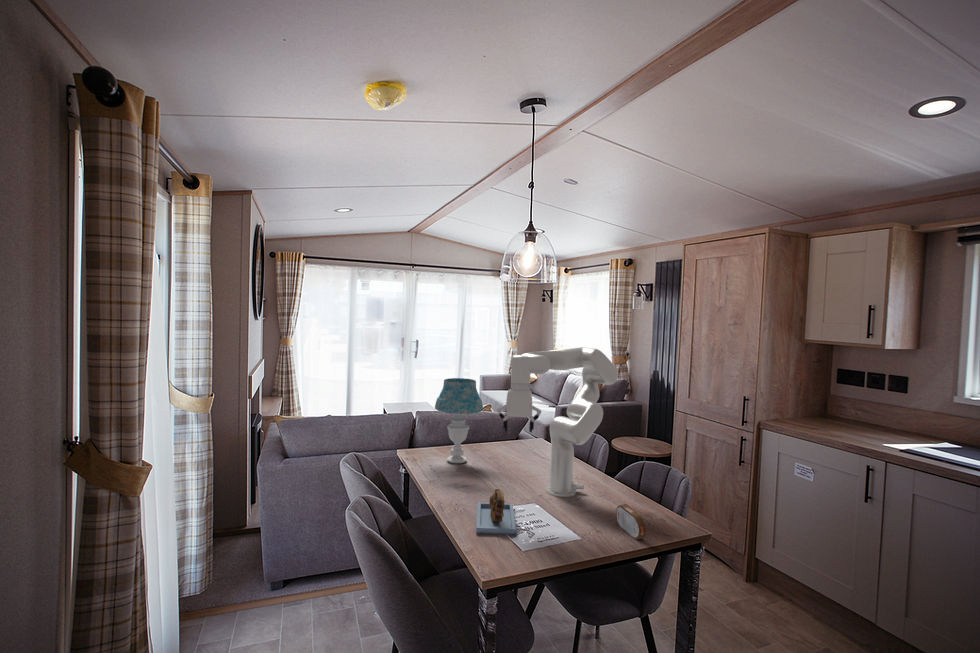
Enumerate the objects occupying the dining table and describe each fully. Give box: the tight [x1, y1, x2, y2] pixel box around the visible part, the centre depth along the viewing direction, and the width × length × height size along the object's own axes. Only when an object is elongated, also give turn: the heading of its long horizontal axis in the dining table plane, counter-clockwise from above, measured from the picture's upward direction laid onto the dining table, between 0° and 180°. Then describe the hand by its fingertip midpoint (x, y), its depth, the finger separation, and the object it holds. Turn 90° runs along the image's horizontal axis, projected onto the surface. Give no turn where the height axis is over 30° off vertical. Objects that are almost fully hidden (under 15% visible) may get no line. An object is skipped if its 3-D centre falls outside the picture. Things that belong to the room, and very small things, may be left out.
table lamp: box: [434, 377, 484, 464], centre depth 230 cm, size 24×24×40 cm
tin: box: [615, 503, 647, 540], centre depth 159 cm, size 15×3×8 cm, turn 16°
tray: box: [475, 501, 517, 536], centre depth 165 cm, size 13×21×2 cm, turn 0°
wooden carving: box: [488, 488, 505, 522], centre depth 164 cm, size 16×5×10 cm, turn 12°
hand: (518, 431), depth 180 cm, fingers open, 9 cm apart
